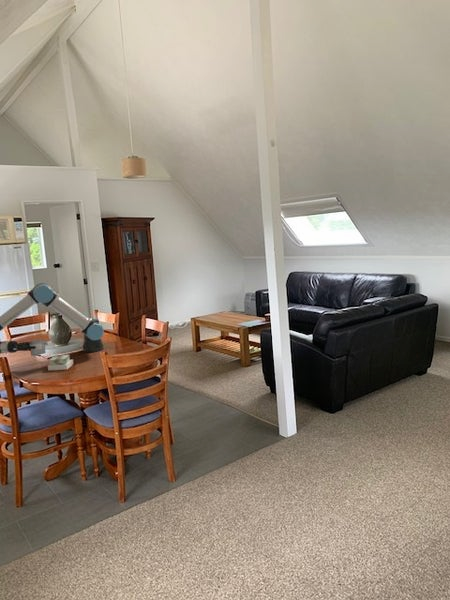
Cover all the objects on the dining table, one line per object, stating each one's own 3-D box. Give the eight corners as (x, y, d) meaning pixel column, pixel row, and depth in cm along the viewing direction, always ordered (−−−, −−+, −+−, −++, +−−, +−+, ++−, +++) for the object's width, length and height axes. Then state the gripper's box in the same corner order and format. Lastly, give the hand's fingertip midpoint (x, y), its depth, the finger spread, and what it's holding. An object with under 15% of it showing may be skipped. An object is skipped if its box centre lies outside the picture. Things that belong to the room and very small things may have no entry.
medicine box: (42, 352, 295) (40, 339, 294) (46, 353, 293) (44, 340, 291) (30, 355, 289) (29, 342, 288) (34, 356, 287) (32, 343, 285)
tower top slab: (69, 359, 296) (69, 354, 295) (66, 363, 286) (65, 358, 286) (54, 361, 295) (53, 355, 294) (49, 365, 285) (49, 359, 285)
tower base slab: (73, 364, 297) (73, 359, 296) (67, 370, 285) (66, 364, 284) (55, 365, 297) (54, 360, 297) (48, 371, 285) (47, 365, 285)
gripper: (18, 348, 302) (51, 346, 301) (2, 357, 281) (37, 355, 280) (16, 337, 301) (50, 335, 300) (0, 345, 279) (36, 343, 279)
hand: (44, 344), depth 290 cm, fingers closed on medicine box, 9 cm apart
